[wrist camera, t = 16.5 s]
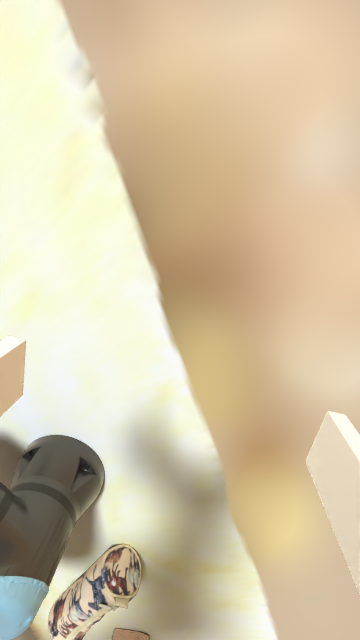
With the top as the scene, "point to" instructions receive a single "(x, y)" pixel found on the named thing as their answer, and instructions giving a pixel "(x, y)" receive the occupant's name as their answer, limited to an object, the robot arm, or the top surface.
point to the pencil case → (96, 593)
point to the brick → (128, 635)
